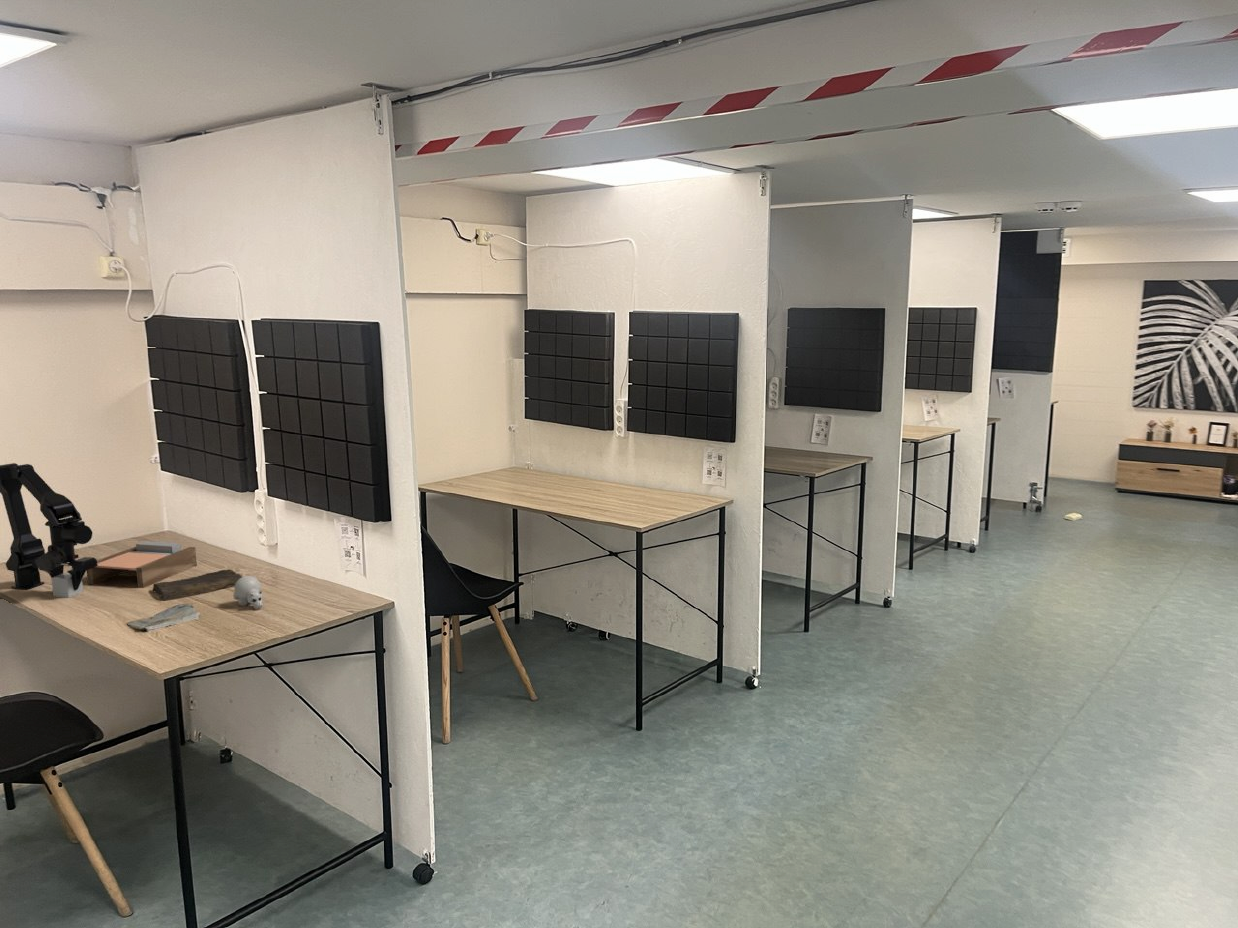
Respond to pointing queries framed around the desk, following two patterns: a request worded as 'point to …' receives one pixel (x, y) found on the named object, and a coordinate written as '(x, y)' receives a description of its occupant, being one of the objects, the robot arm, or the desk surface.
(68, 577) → the gray cube
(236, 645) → the desk surface
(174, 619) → the fossil rock
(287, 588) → the desk surface
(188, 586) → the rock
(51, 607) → the desk surface
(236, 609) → the desk surface
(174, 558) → the frame
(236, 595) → the chubby cartoon animal
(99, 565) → the trapdoor
